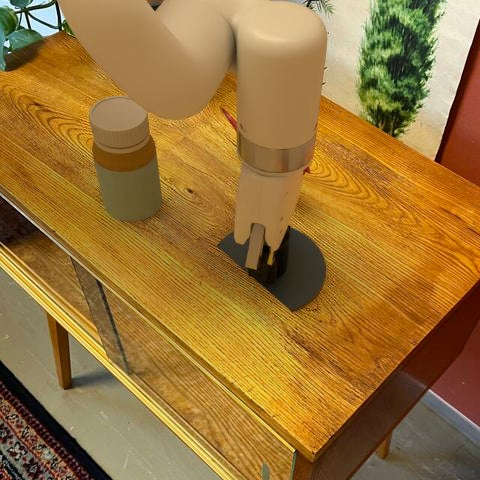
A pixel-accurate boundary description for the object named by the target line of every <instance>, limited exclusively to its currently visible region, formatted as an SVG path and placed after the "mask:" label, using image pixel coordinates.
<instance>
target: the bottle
mask: <svg viewBox="0 0 480 480" xmlns="http://www.w3.org/2000/svg"><path fill="white" fill-rule="evenodd" d="M148 113H149V112H148V111H147V110H145V109H144V108H142V107H141V106H139V105H138V104H137V103H135V102H134V101H133V100H132V99H131V98H130V97H129V96H128V95H112V96H107V97H104V98H101V99H100V100H97V101H96V102H94V104H92V105H91V107H90V108H89V111H88V121H89V125H90V130H91V134H92V137H93V140H92V145H91V152H92V158H93V159H92V160H93V163H94V167H95V171H96V176H97V181H98V185H99V190H100V195H101V198H102V203H103V207H104V209H105V211H106V213H107V214H108V215H109V216H110V217H112V218H114V219H117V220H118V221H120V222H121V221H122V222H130V223H131V222H133V223H135V222H140V221H145V220H147V219H149V218H151V217H153V216H154V215H156V214H157V212H158V211H159V210H160V209H161V207H162V205H163V193H162V187H161V179H160V170H159V169H160V168H159V161H158V153H157V145H156V142H155V140H154V138H153V136H152V134H151V129H150V119H149V114H148Z"/></svg>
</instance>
